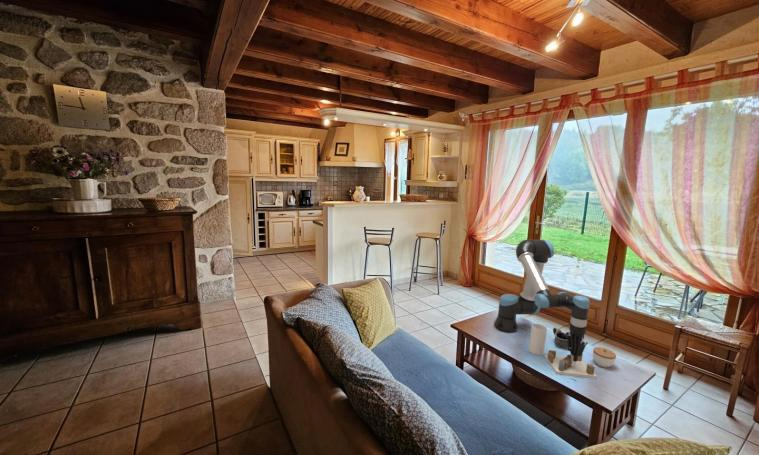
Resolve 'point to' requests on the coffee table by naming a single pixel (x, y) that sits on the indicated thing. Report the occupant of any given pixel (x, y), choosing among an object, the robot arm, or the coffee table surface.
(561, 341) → the teapot
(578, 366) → the seat board
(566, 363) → the brown rectangular block
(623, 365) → the coffee table surface
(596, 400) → the coffee table surface
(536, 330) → the cup
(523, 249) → the robot arm
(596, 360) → the lidded jar
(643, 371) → the coffee table surface
